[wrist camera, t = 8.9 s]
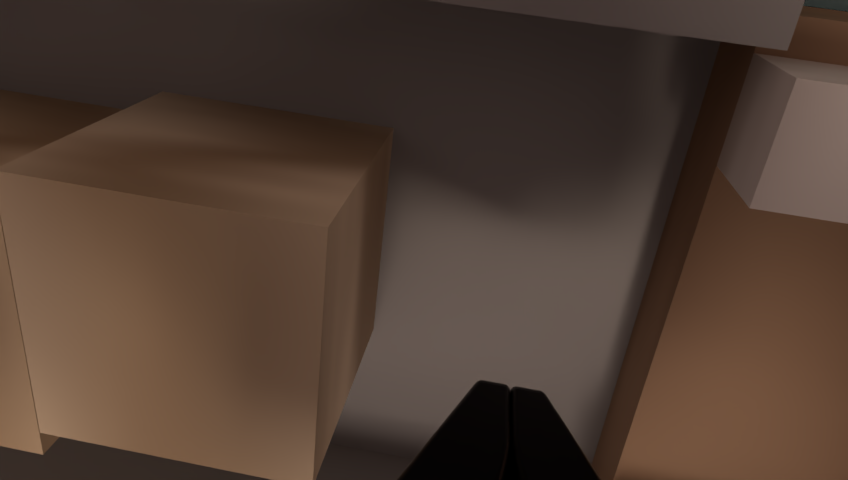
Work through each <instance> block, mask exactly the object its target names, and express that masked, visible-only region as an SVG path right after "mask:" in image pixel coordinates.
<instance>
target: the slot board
mask: <svg viewBox="0 0 848 480" xmlns="http://www.w3.org/2000/svg"><path fill="white" fill-rule="evenodd" d="M592 466H593V468H594V469H595V471H596V472H597V474H598V475H599V477H600V479H601V480H848V12H845V11H838V10H830V9H823V8H816V7H808V6H803V7H802V10H801V13H800V16H799V19H798V22H797V25H796V27H795V30H794V33H793V36H792V39H791V42H790V45H789V47H788V50H787V51H785V50H778V49H771V48H763V47H756V46H749V45H742V44H735V43H728V42H720V45H719V49H718V52H717V55H716V59H715V62H714V65H713V68H712V72H711V75H710V78H709V82H708V85H707V88H706V91H705V95H704V98H703V101H702V104H701V108H700V111H699V114H698V118H697V121H696V124H695V127H694V131H693V134H692V137H691V141H690V144H689V147H688V150H687V154H686V157H685V160H684V163H683V167H682V170H681V173H680V177H679V180H678V183H677V186H676V190H675V193H674V196H673V200H672V203H671V206H670V209H669V213H668V216H667V219H666V222H665V226H664V229H663V232H662V236H661V239H660V242H659V245H658V249H657V252H656V255H655V258H654V262H653V265H652V268H651V272H650V275H649V278H648V281H647V285H646V288H645V291H644V295H643V298H642V301H641V304H640V308H639V311H638V314H637V317H636V321H635V324H634V327H633V331H632V334H631V337H630V340H629V344H628V347H627V350H626V354H625V357H624V360H623V363H622V367H621V370H620V373H619V376H618V380H617V383H616V386H615V390H614V393H613V396H612V399H611V403H610V406H609V409H608V412H607V416H606V419H605V422H604V426H603V429H602V432H601V435H600V439H599V442H598V445H597V449H596V452H595V455H594V458H593V462H592Z"/></svg>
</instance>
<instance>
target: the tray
mask: <svg viewBox="0 0 848 480" xmlns="http://www.w3.org/2000/svg"><path fill="white" fill-rule="evenodd" d="M804 2H805V0H0V90H7V91H13V92H19V93H25V94H32V95H38V96H44V97H50V98H56V99H63V100H69V101H75V102H81V103H87V104H94V105H100V106H106V107H112V108H118V109H126V108H128V107H130V106H132V105H134V104H137V103H139V102H141V101H143V100H145V99H147V98H150V97H152V96H154V95H156V94H158V93H160V92H169V93H175V94H181V95H188V96H194V97H200V98H206V99H213V100H219V101H225V102H232V103H238V104H244V105H251V106H257V107H263V108H270V109H276V110H282V111H289V112H295V113H301V114H308V115H314V116H320V117H327V118H333V119H339V120H345V121H352V122H358V123H364V124H371V125H377V126H383V127H390V128H394V130H393V140H392V150H391V160H390V170H389V180H388V190H387V200H386V210H385V219H384V229H383V239H382V249H381V259H380V269H379V279H378V289H377V299H376V309H375V318H374V328H373V332H372V334H371V337H370V339H369V342H368V345H367V347H366V350H365V352H364V355H363V358H362V360H361V363H360V365H359V368H358V371H357V373H356V376H355V379H354V381H353V384H352V386H351V389H350V392H349V394H348V397H347V399H346V402H345V405H344V407H343V410H342V412H341V415H340V418H339V420H338V423H337V425H336V428H335V431H334V433H333V436H332V438H331V441H330V444H329V446H328V449H327V451H326V454H325V457H324V459H323V462H322V464H321V467H320V470H319V472H318V475H317V477H316V480H397V478H398V477H399V476H400V475H401V473H402V472H403V471H404V470H405V469H406V467H407V466H408V465H409V464H410V462H411V461H412V460H413V459H414V458H415V456H416V455H417V454H418V453H419V451H420V450H421V449H422V448H423V446H424V445H425V444H426V443H427V442H428V440H429V439H430V438H431V437H432V435H433V434H434V433H435V432H436V431H437V429H438V428H439V427H440V426H441V424H442V423H443V422H444V421H445V419H446V418H447V417H448V416H449V415H450V413H451V412H452V411H453V410H454V408H455V407H456V406H457V405H458V404H459V402H460V401H461V400H462V399H463V397H464V396H465V395H466V394H467V392H468V391H469V390H470V389H471V388H472V386H473V385H474V384H475V383H476V382H477V381H479V380H486V381H491V382H497V383H502V384H506V385H507V386H509V388H510V390H511V388H512V387H514V386H519V387H524V388H530V389H535V390H540V391H542V392H544V393H545V394H546V395H547V397H548V399H549V400H550V402H551V403H552V405H553V406H554V408H555V409H556V411H557V412H558V414H559V415H560V417H561V419H562V420H563V422H564V423H565V425H566V426H567V428H568V429H569V431H570V432H571V434H572V435H573V437H574V439H575V440H576V442H577V443H578V445H579V446H580V448H581V449H582V451H583V452H584V454H585V455H586V457H587V459H588V460H589V462H590V463H591V465H592V462H593V458H594V455H595V452H596V449H597V445H598V442H599V439H600V435H601V432H602V429H603V426H604V422H605V419H606V416H607V412H608V409H609V406H610V403H611V399H612V396H613V393H614V390H615V386H616V383H617V380H618V376H619V373H620V370H621V367H622V363H623V360H624V357H625V354H626V350H627V347H628V344H629V340H630V337H631V334H632V331H633V327H634V324H635V321H636V317H637V314H638V311H639V308H640V304H641V301H642V298H643V295H644V291H645V288H646V285H647V281H648V278H649V275H650V272H651V268H652V265H653V262H654V258H655V255H656V252H657V249H658V245H659V242H660V239H661V236H662V232H663V229H664V226H665V222H666V219H667V216H668V213H669V209H670V206H671V203H672V200H673V196H674V193H675V190H676V186H677V183H678V180H679V177H680V173H681V170H682V167H683V163H684V160H685V157H686V154H687V150H688V147H689V144H690V141H691V137H692V134H693V131H694V127H695V124H696V121H697V118H698V114H699V111H700V108H701V104H702V101H703V98H704V95H705V91H706V88H707V85H708V82H709V78H710V75H711V72H712V68H713V65H714V62H715V59H716V55H717V52H718V49H719V45H720V42H728V43H735V44H742V45H749V46H756V47H763V48H771V49H778V50H785V51H787V50H788V47H789V45H790V42H791V39H792V36H793V33H794V30H795V27H796V25H797V22H798V19H799V16H800V13H801V10H802V7H803V5H804ZM0 480H271V479H266V478H261V477H256V476H251V475H246V474H241V473H237V472H232V471H227V470H222V469H217V468H212V467H207V466H202V465H197V464H192V463H187V462H182V461H177V460H172V459H167V458H162V457H157V456H152V455H148V454H143V453H138V452H133V451H128V450H123V449H118V448H113V447H108V446H103V445H98V444H93V443H88V442H83V441H78V440H73V439H68V438H63V437H59V438H58V439H57V440H56V441H55V442H54V444H53V445H52V446H51V447H50V448H49V449H48V450H47V451H46V452H45V453H44V455H42V454H37V453H32V452H27V451H22V450H17V449H13V448H8V447H3V446H0Z"/></svg>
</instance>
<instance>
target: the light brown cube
mask: <svg viewBox="0 0 848 480" xmlns="http://www.w3.org/2000/svg"><path fill="white" fill-rule="evenodd" d="M121 110H124V109H118V108H112V107H106V106H100V105H94V104H87V103H81V102H75V101H69V100H63V99H56V98H50V97H44V96H38V95H32V94H25V93H19V92H13V91H7V90H0V166H2V165H4V164H6V163H9V162H11V161H13V160H15V159H17V158H19V157H22V156H24V155H26V154H28V153H30V152H33V151H35V150H37V149H39V148H41V147H43V146H46V145H48V144H50V143H52V142H54V141H56V140H59V139H61V138H63V137H65V136H67V135H69V134H72V133H74V132H76V131H78V130H80V129H82V128H85V127H87V126H89V125H91V124H93V123H95V122H98V121H100V120H102V119H104V118H106V117H108V116H111V115H113V114H115V113H117V112H119V111H121ZM58 438H59V436H54V435H49V434H44V433H40V430H39V424H38V419H37V413H36V408H35V402H34V397H33V391H32V386H31V380H30V375H29V369H28V364H27V358H26V353H25V347H24V342H23V336H22V331H21V325H20V320H19V314H18V309H17V303H16V298H15V292H14V287H13V281H12V276H11V270H10V265H9V259H8V254H7V248H6V243H5V237H4V232H3V226H2V221H1V215H0V446H3V447H8V448H13V449H17V450H22V451H27V452H32V453H37V454H42V455H44V453H45V452H46V451H47V450H48V449H49V448H50V447H51V446H52V445H53V444H54V442H55V441H56V440H57V439H58Z"/></svg>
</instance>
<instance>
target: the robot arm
mask: <svg viewBox="0 0 848 480" xmlns="http://www.w3.org/2000/svg"><path fill="white" fill-rule="evenodd" d="M397 480H601V479H600V477H599V475H598V474H597V472H596V471H595V469H594V468H593V466H592V465H591V463H590V462H589V460H588V459H587V457H586V455H585V454H584V452H583V451H582V449H581V448H580V446H579V445H578V443H577V442H576V440H575V439H574V437H573V435H572V434H571V432H570V431H569V429H568V428H567V426H566V425H565V423H564V422H563V420H562V419H561V417H560V415H559V414H558V412H557V411H556V409H555V408H554V406H553V405H552V403H551V402H550V400H549V399H548V397H547V395H546V394H545V393H544V392H542V391H540V390H535V389H530V388H524V387H519V386H514V387H512V388H511V390H510V388H509V386H507V385H506V384H502V383H497V382H491V381H486V380H479V381H477V382H476V383H475V384H474V385H473V386H472V388H471V389H470V390H469V391H468V392H467V394H466V395H465V396H464V397H463V399H462V400H461V401H460V402H459V404H458V405H457V406H456V407H455V408H454V410H453V411H452V412H451V413H450V415H449V416H448V417H447V418H446V419H445V421H444V422H443V423H442V424H441V426H440V427H439V428H438V429H437V431H436V432H435V433H434V434H433V435H432V437H431V438H430V439H429V440H428V442H427V443H426V444H425V445H424V446H423V448H422V449H421V450H420V451H419V453H418V454H417V455H416V456H415V458H414V459H413V460H412V461H411V462H410V464H409V465H408V466H407V467H406V469H405V470H404V471H403V472H402V473H401V475H400V476H399V477H398V478H397Z"/></svg>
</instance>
